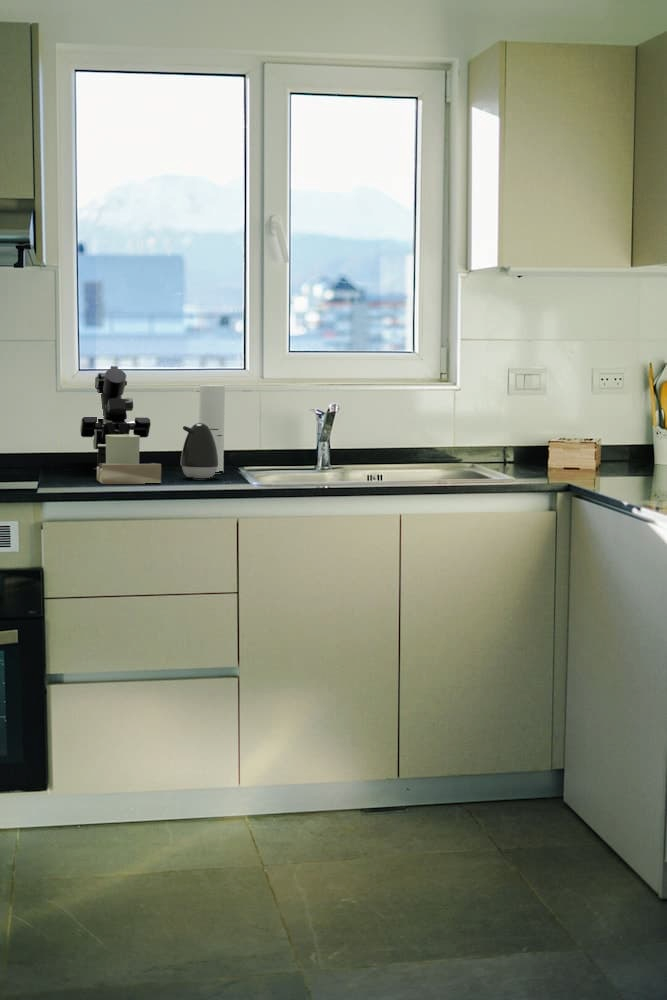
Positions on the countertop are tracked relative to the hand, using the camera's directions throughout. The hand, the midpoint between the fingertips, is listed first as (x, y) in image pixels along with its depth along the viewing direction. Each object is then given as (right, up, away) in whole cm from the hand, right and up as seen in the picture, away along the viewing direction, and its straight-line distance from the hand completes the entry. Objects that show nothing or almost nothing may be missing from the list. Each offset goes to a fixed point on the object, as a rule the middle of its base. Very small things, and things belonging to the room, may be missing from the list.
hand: (118, 449), depth 334 cm
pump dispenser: (+22, -8, -1) cm, 24 cm away
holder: (+5, -9, -15) cm, 18 cm away
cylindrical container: (+23, -6, +20) cm, 31 cm away
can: (+2, -8, -6) cm, 10 cm away
